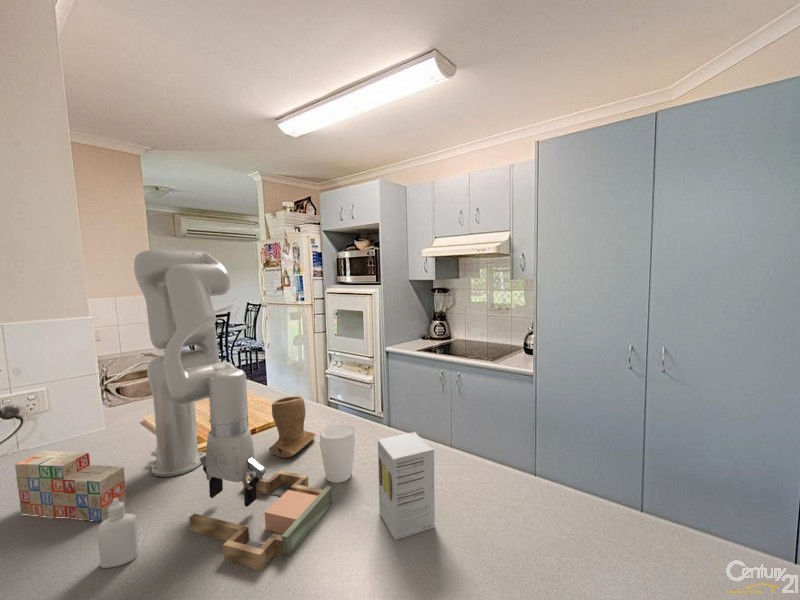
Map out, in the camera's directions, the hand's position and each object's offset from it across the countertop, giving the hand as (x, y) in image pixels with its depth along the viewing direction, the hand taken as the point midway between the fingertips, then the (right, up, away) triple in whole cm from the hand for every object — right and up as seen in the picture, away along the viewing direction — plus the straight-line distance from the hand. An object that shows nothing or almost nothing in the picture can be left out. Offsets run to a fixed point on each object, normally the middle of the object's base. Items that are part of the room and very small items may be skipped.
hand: (233, 498), depth 82 cm
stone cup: (+4, 0, +29) cm, 29 cm away
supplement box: (+39, -2, -5) cm, 39 cm away
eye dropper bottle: (-15, -4, -14) cm, 21 cm away
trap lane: (+8, -3, -3) cm, 9 cm away
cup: (+22, -1, +13) cm, 25 cm away
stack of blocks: (-37, -4, +1) cm, 37 cm away
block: (+15, -3, -4) cm, 16 cm away
